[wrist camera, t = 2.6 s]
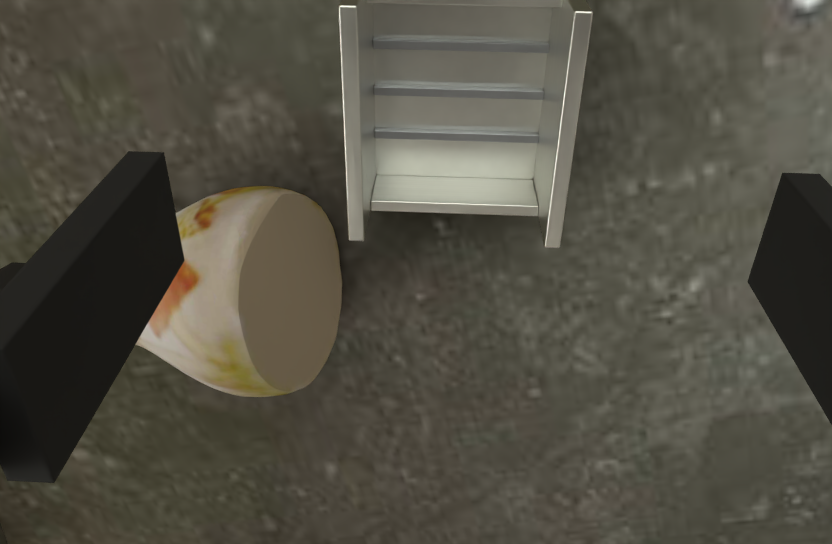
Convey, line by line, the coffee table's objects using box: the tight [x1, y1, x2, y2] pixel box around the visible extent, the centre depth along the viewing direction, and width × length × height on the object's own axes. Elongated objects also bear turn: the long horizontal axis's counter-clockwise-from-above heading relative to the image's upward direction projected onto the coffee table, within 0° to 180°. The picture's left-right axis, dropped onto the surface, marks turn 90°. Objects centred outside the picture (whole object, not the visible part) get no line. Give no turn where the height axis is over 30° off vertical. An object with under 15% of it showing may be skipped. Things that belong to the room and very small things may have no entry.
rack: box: [338, 0, 593, 248], centre depth 22 cm, size 6×7×4 cm
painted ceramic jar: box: [135, 186, 342, 397], centre depth 26 cm, size 8×10×10 cm
